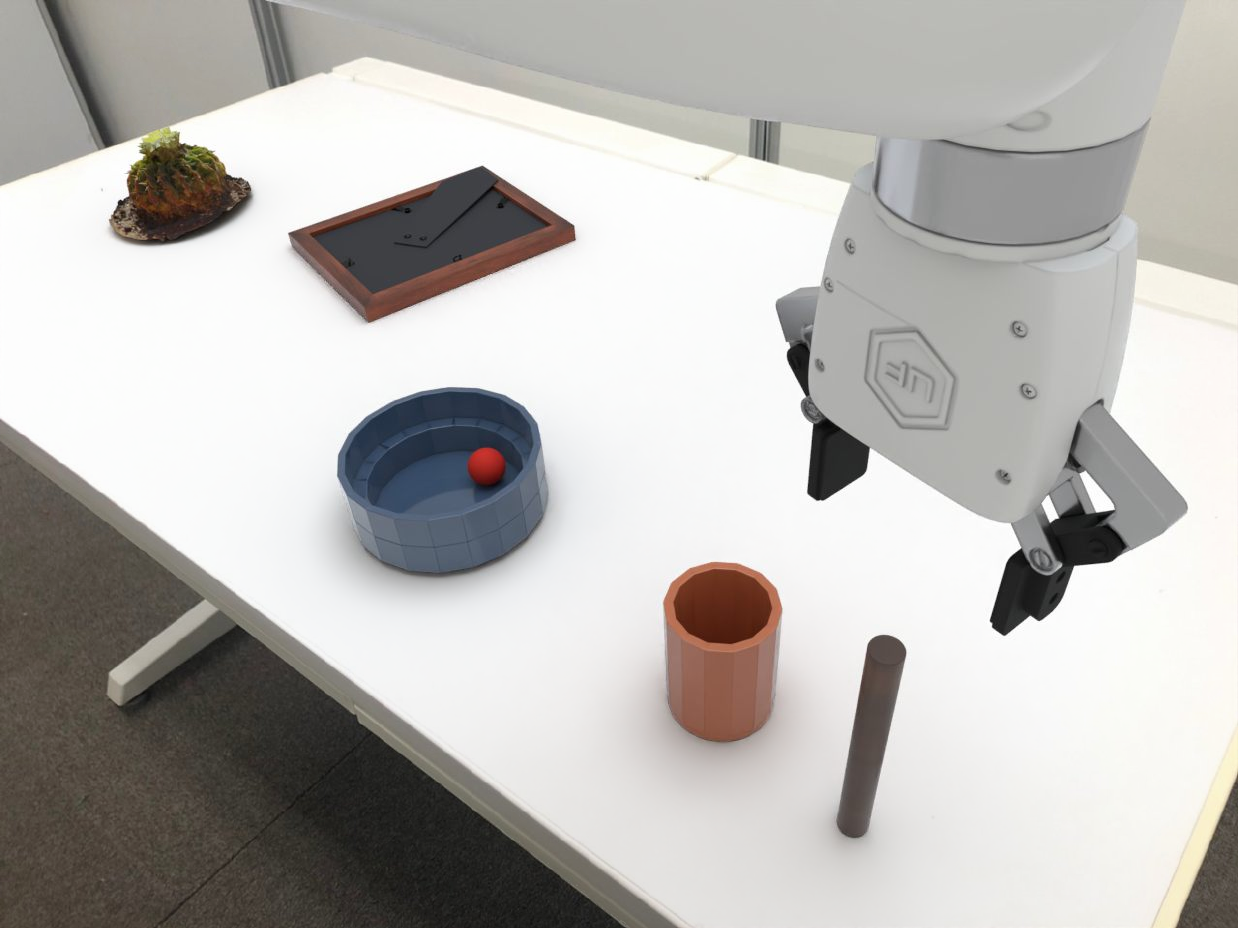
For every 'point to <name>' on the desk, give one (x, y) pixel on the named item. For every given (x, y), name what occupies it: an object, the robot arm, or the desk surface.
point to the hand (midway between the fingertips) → (922, 544)
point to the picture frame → (429, 241)
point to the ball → (486, 466)
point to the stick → (870, 732)
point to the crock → (721, 649)
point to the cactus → (174, 189)
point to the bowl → (442, 479)
